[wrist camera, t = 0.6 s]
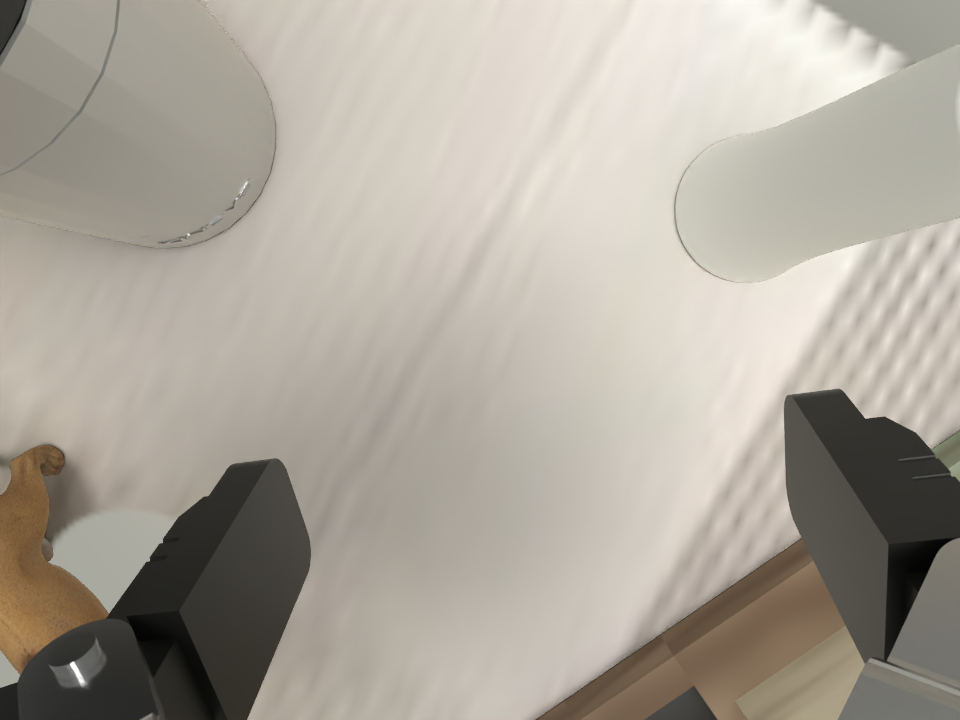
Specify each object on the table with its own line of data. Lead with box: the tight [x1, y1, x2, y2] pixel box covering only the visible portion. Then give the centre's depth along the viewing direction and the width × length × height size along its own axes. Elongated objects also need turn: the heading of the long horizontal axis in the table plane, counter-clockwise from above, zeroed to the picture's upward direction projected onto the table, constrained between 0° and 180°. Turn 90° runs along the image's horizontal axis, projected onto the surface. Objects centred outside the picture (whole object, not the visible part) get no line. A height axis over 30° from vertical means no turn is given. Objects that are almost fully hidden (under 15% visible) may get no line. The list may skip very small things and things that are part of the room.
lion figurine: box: [0, 445, 109, 675], centre depth 27 cm, size 15×5×9 cm, turn 48°
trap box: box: [537, 431, 960, 720], centre depth 32 cm, size 14×30×2 cm, turn 125°
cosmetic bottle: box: [675, 44, 960, 283], centre depth 20 cm, size 6×6×22 cm
